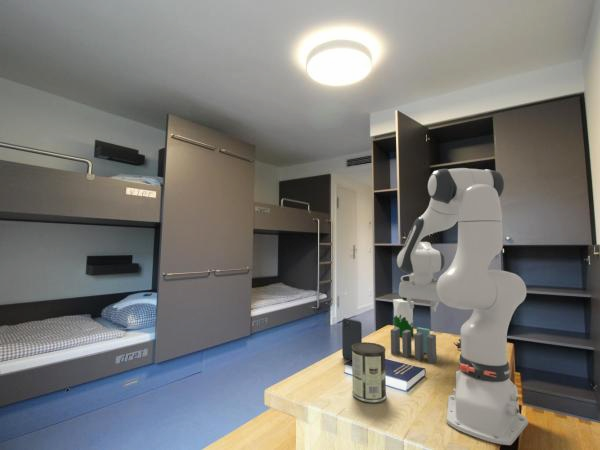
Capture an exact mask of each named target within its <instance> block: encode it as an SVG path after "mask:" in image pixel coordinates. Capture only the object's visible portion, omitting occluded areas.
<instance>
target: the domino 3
mask: <svg viewBox="0 0 600 450" xmlns="http://www.w3.org/2000/svg"><path fill="white" fill-rule="evenodd" d="M417 332H422V333H423V344H424V354H427V336H429V335H430V334H431V330H430V328H425V327H424V328H423V327H421V326H420V327H418V326H417V327H416V333H417Z"/></svg>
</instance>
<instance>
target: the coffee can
mask: <svg viewBox="0 0 600 450" xmlns="http://www.w3.org/2000/svg"><path fill="white" fill-rule="evenodd" d="M351 366H352V368H351V369H352V371H351V372H352V377H351V378H352V379H351V381H352V395H353V397H355V398H356V399H357V400H360V401H362V402H365V403H380V402H383V401H384V400H386V398H387V392H386V391H387V388H386V383H387V381H386V378H387V377H386V347H385V346H383V345H381V344H379V343H375V342H367V341H366V342H364V341H363V342H361V343H356V344H353V345H352V361H351Z"/></svg>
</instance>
